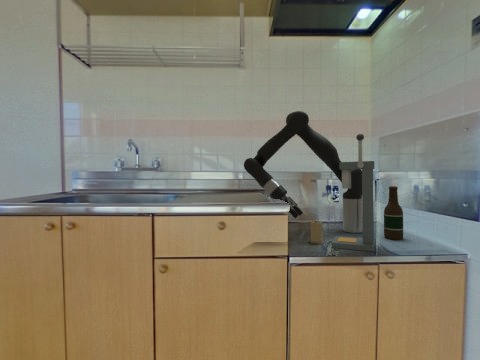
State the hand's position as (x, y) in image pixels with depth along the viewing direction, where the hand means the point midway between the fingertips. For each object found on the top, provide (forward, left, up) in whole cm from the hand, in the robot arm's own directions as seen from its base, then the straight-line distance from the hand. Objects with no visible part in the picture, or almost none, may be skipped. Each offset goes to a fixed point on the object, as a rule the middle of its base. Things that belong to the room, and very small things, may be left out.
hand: (299, 215), depth 121 cm
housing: (0, +8, -12) cm, 14 cm away
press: (0, +23, -11) cm, 25 cm away
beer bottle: (-21, +39, -12) cm, 45 cm away
